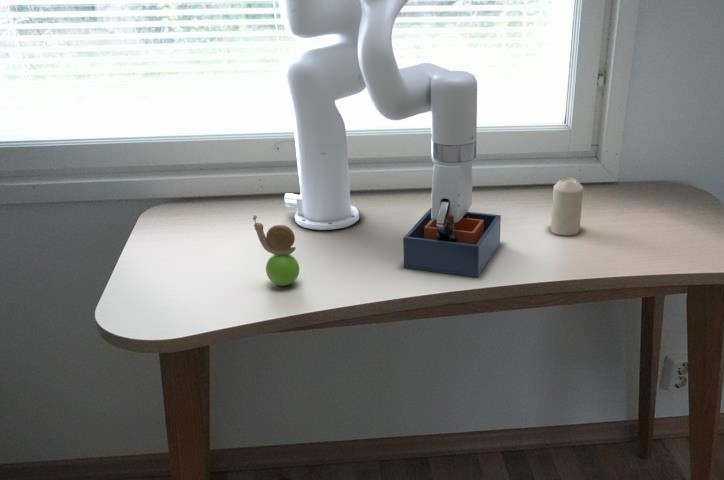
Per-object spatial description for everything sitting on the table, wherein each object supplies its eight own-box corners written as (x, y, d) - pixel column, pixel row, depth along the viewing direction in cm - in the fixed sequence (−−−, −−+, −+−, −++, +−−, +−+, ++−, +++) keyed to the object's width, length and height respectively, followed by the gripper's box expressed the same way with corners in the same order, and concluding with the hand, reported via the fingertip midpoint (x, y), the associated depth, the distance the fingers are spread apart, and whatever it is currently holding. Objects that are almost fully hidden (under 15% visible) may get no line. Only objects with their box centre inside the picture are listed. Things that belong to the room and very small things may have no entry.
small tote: (424, 256, 147) (424, 227, 144) (435, 243, 153) (435, 214, 150) (473, 262, 145) (474, 232, 142) (483, 248, 150) (483, 219, 147)
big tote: (403, 267, 145) (402, 237, 142) (431, 236, 157) (430, 207, 154) (478, 277, 141) (478, 246, 138) (499, 244, 154) (501, 215, 151)
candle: (578, 237, 157) (582, 185, 152) (549, 234, 158) (552, 183, 152) (580, 226, 162) (585, 175, 156) (552, 224, 162) (555, 173, 157)
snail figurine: (263, 278, 141) (254, 209, 134) (302, 276, 141) (294, 208, 135) (260, 291, 136) (250, 222, 130) (299, 290, 137) (292, 221, 130)
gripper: (447, 135, 147) (447, 230, 157) (415, 163, 133) (418, 266, 143) (488, 138, 145) (486, 234, 155) (460, 168, 131) (460, 271, 141)
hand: (453, 249), depth 149 cm, fingers open, 7 cm apart
